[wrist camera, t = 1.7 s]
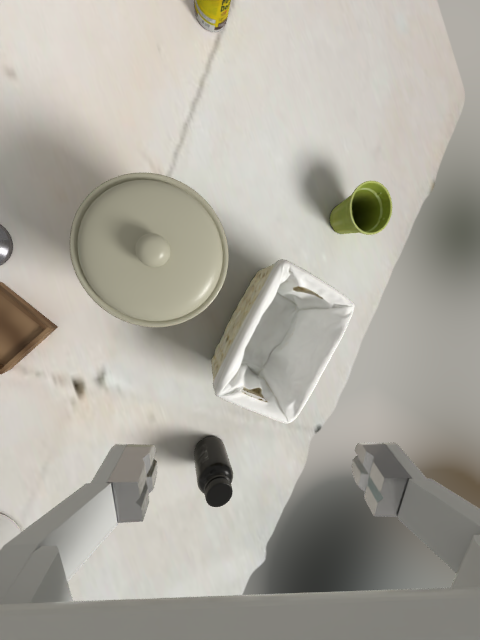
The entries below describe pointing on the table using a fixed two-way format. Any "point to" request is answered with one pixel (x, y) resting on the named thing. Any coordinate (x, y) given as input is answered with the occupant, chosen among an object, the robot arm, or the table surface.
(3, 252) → the post
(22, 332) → the walnut tray
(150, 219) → the canister
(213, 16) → the supplement bottle
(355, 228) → the plant pot
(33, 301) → the table surface
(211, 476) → the supplement bottle
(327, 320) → the storage basket
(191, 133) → the table surface
